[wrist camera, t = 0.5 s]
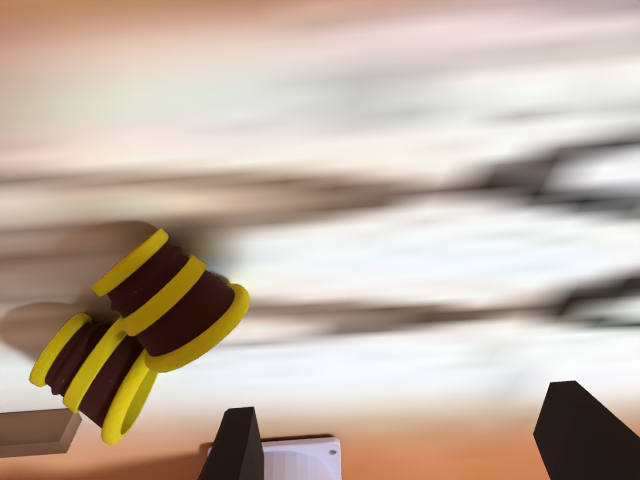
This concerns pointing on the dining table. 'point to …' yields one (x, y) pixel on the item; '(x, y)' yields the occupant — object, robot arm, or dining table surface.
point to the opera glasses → (139, 334)
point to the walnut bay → (37, 432)
